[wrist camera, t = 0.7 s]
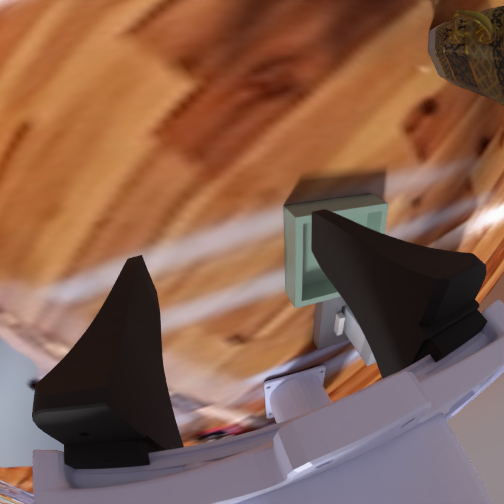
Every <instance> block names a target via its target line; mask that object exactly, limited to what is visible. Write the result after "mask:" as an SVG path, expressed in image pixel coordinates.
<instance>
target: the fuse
mask: <svg viewBox="0 0 504 504" xmlns="http://www.w3.org/2000/svg"><path fill="white" fill-rule="evenodd" d="M342 314H343V315H344V316H345V321H344V327H343V331H344V333H345V334H346V335H347V337H348V338H349V340H350V341H351V343H352V344H353V346H354V347H355V349H356V350H357V351H358V353H359V354H360V356H361V357H362V359H363V360H364V362H365V363H366V365H367V366H368V365H371V364H373V363H376V360H375V358H374V355H373V353H372V351H371V349H370V346H369V344H368V342H367V340H366V338H365V336H364V334H363V332H362V330H361V328H360V326H359V324H358V322H357V320H356V319H355V317H354V315H353V313H352V311H351V310H350V308H349V307H348V305H345V306H342Z"/></svg>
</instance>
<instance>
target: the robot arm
mask: <svg viewBox="0 0 504 504" xmlns="http://www.w3.org/2000/svg"><path fill="white" fill-rule="evenodd" d="M311 251H312V253H313V255H314V257H315V259H316V261H317V262H318V264H319V266H320V268H321V269H322V271H323V272H324V274H325V275H326V276H327V278H328V279H329V280H330V282H331V283H332V284H333V286H334V287H335V289H336V290H337V291H338V293H339V294H340V295H341V297H342V298H343V299H344V301H345V302H346V304H347V305H348V307H349V308H350V310H351V311H352V313H353V315H354V317H355V319H356V320H357V322H358V324H359V326H360V328H361V330H362V332H363V334H364V336H365V338H366V340H367V342H368V344H369V346H370V349H371V351H372V353H373V355H374V358H375V360H376V362H377V365H378V368H379V370H380V373H381V375H382V378H383V379H382V380H380V381H378V382H376V383H374V384H372V385H370V386H368V387H365V388H363V389H361V390H359V391H357V392H355V393H352V394H350V395H348V396H346V397H343V398H341V399H339V400H336V401H334V402H331V400H330V398H329V396H328V394H327V392H326V390H325V389H324V387H323V382H324V377H325V371H326V366H325V365H320V366H317V367H314V368H311V369H308V370H304V371H301V372H298V373H294V374H291V375H287V376H284V377H280V378H276V379H272V380H269V381H266V382H265V383H264V394H265V407H266V417H267V418H268V419H271V418H275V421H276V423H277V424H274V425H271V426H268V427H264V428H261V429H258V430H254V431H251V432H247V433H244V434H240V435H236V436H233V437H229V438H225V439H220V440H216V441H212V442H207V443H203V444H198V445H193V446H188V447H184V446H183V443H182V440H181V437H180V433H179V430H178V427H177V423H176V420H175V416H174V412H173V409H172V405H171V401H170V396H169V392H168V388H167V383H166V378H165V373H164V367H163V358H162V341H161V320H160V309H159V302H158V296H157V291H156V289H155V286H154V284H153V282H152V279H151V277H150V274H149V272H148V270H147V267H146V265H145V262H144V260H143V257H142V255H140V256H136V257H132V258H129V259H127V261H126V263H125V265H124V267H123V269H122V270H121V272H120V274H119V276H118V278H117V280H116V282H115V284H114V286H113V288H112V290H111V292H110V294H109V295H108V297H107V299H106V301H105V302H104V304H103V306H102V308H101V309H100V311H99V313H98V314H97V316H96V317H95V319H94V320H93V322H92V323H91V325H90V326H89V327H88V329H87V330H86V332H85V333H84V334H83V335H82V337H81V338H80V339H79V340H78V342H77V343H76V344H75V345H74V347H73V348H72V349H71V350H70V351H69V353H68V354H67V355H66V356H65V357H64V358H63V359H62V360H61V361H60V362H59V363H58V364H57V365H56V366H55V367H54V368H53V369H52V370H51V371H50V372H49V373H48V374H47V375H46V376H45V377H43V378H42V379H41V380H40V381H39V382H38V383H37V384H36V387H35V394H34V402H33V412H32V418H33V421H34V422H35V424H36V425H37V426H38V428H40V429H41V430H42V431H43V432H45V433H47V434H48V435H50V436H51V437H53V438H55V439H56V440H58V441H59V442H61V443H62V444H64V452H61V451H57V450H33V490H34V504H494V503H493V501H492V499H491V497H490V495H489V494H488V492H487V490H486V488H485V486H484V484H483V482H482V481H481V479H480V477H479V475H478V473H477V472H476V470H475V468H474V466H473V465H472V463H471V461H470V459H469V458H468V456H467V455H466V453H465V451H464V449H463V448H462V446H461V444H460V443H459V441H458V439H457V438H456V436H455V434H454V433H453V431H452V430H451V428H450V427H449V425H448V423H447V420H448V419H450V418H451V417H452V416H453V415H455V414H456V413H457V412H459V411H460V410H461V409H462V408H463V407H465V406H466V405H467V404H468V403H469V402H470V401H472V400H473V399H474V398H475V397H476V396H478V395H479V393H481V392H482V391H483V390H484V389H485V388H486V387H488V386H489V385H490V384H491V383H492V382H493V381H494V380H495V379H496V378H497V377H498V376H499V375H500V374H502V372H504V304H503V303H502V302H501V301H500V300H497V301H495V302H494V303H493V304H492V305H490V306H489V307H487V308H486V309H485V310H484V311H483V313H482V314H481V313H480V312H479V311H478V310H477V309H478V307H479V303H478V302H477V301H476V300H475V298H476V296H477V294H478V292H479V290H480V288H481V286H482V284H483V281H484V279H485V276H486V265H485V264H484V263H483V262H482V261H481V260H480V259H479V258H477V257H476V256H475V255H474V254H472V253H463V252H452V251H445V250H439V249H434V248H429V247H424V246H420V245H416V244H412V243H409V242H405V241H402V240H399V239H396V238H393V237H390V236H387V235H385V234H382V233H380V232H377V231H375V230H372V229H370V228H368V227H365V226H363V225H361V224H359V223H356V222H354V221H352V220H350V219H347V218H345V217H343V216H341V215H339V214H336V213H334V212H331V211H329V210H326V209H322V210H318V211H313V212H312V232H311Z"/></svg>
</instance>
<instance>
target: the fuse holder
mask: <svg viewBox="0 0 504 504" xmlns="http://www.w3.org/2000/svg"><path fill="white" fill-rule="evenodd" d="M345 305H347V304H346V302H345V301H344V299H343V298H342V297H341V296H340V297H336V298H333V299H329V300H325V301H322V302H318V303H316V306H315V319H314V331H313V342H314V343H315V345H316V347H317V349H321V348H324V347H328V346H331V345H334V344H337V343H340V342H343V341H346V340H349V338H348V337H347V335H346V334H345V333H344V331H343V327H344V321H345V316H344V315H343V314H342V306H345Z"/></svg>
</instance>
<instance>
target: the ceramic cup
mask: <svg viewBox="0 0 504 504" xmlns="http://www.w3.org/2000/svg"><path fill="white" fill-rule="evenodd" d="M428 52H429V55H430V57H431V59H432V61H433V63H434V65H435V68H436V70H437V72H438V74H439V75H440V76H441V77H442V78H444V79H446V80H447V81H449V82H451V83H452V84H454V85H456V86H459V87H461V88H464V89H467V90H470V91H472V92H475V93H477V94H480V95H482V96H485V97H487V98H490V99H492V100H494V101H496V102H498V103H499V104H501V105H503V106H504V6H501V7H496V8H491V9H487V10H485V11H482V12H480V13H479V12H476V11H471V10H457V11H455V12H454V14H453V20H450V21H447V22H444V23H442V24H440V25H438V26H436V27H435V28H433V29H431V30H430V31H429V45H428Z"/></svg>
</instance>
